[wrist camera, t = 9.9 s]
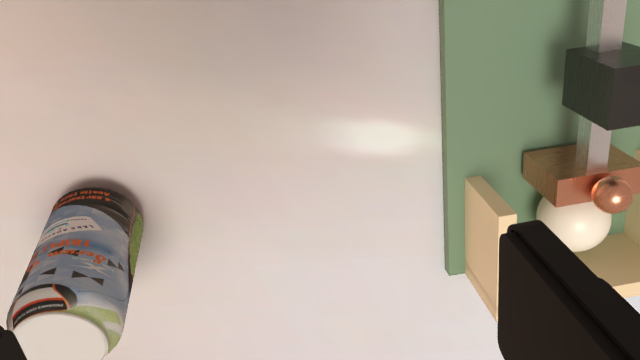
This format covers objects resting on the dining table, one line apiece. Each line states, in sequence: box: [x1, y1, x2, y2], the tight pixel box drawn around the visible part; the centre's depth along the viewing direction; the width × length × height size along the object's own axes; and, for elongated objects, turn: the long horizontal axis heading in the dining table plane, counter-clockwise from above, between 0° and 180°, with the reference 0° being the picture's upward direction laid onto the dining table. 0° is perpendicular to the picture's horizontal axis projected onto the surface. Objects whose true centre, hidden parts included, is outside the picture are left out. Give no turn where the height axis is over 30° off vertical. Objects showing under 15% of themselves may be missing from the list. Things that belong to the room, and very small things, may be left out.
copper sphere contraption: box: [523, 0, 640, 214], centre depth 35 cm, size 14×6×8 cm, turn 7°
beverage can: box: [6, 188, 143, 360], centre depth 34 cm, size 6×7×12 cm
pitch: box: [439, 0, 640, 322], centre depth 36 cm, size 32×17×7 cm, turn 7°
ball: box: [536, 196, 612, 252], centre depth 41 cm, size 5×5×5 cm
